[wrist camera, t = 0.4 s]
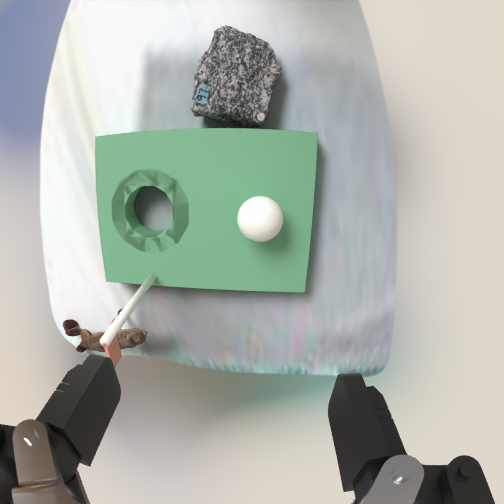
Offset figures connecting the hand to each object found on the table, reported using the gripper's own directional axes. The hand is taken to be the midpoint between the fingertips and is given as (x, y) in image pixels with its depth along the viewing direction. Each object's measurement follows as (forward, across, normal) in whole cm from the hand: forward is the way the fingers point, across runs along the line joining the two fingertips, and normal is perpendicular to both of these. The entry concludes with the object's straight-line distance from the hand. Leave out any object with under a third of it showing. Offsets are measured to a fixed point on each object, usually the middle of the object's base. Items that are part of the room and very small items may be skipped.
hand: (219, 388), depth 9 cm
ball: (+18, -1, -2) cm, 18 cm away
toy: (+23, +18, +14) cm, 32 cm away
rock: (+23, +2, -15) cm, 28 cm away
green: (+22, +5, -2) cm, 23 cm away
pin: (+20, +9, +6) cm, 23 cm away
